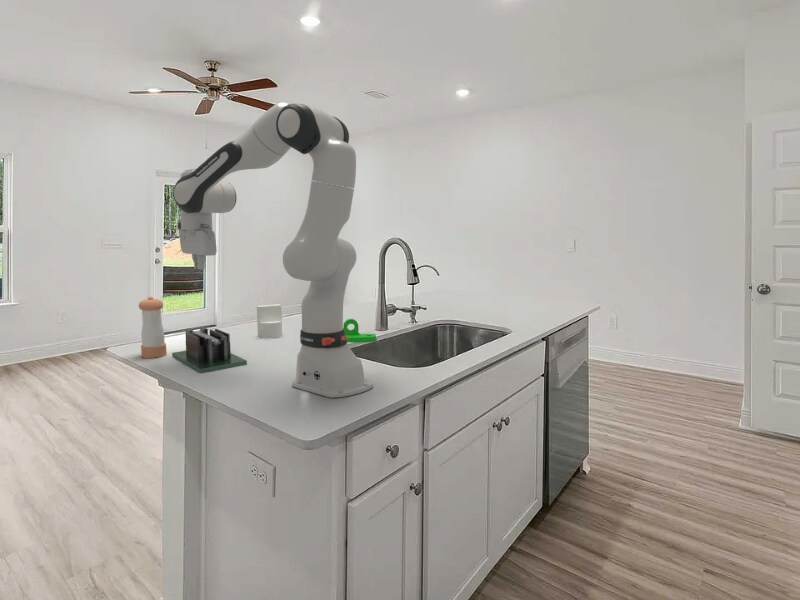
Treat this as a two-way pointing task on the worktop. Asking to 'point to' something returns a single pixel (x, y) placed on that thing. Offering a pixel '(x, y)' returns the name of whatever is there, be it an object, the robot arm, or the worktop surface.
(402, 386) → the worktop surface
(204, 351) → the cooling board
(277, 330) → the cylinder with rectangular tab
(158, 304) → the pepper shaker
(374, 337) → the mechanical part
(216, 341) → the steel strap
